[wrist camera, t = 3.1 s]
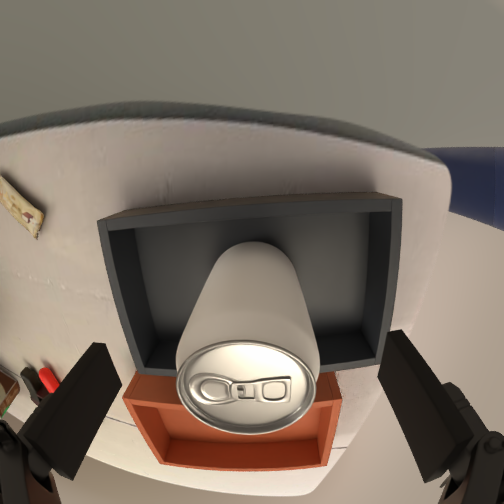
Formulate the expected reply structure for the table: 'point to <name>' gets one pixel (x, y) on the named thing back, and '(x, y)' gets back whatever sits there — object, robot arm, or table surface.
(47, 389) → the toy gun
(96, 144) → the table surface
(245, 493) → the table surface
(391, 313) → the grey bin
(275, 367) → the can
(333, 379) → the terracotta bin
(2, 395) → the food container
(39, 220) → the snack bar
